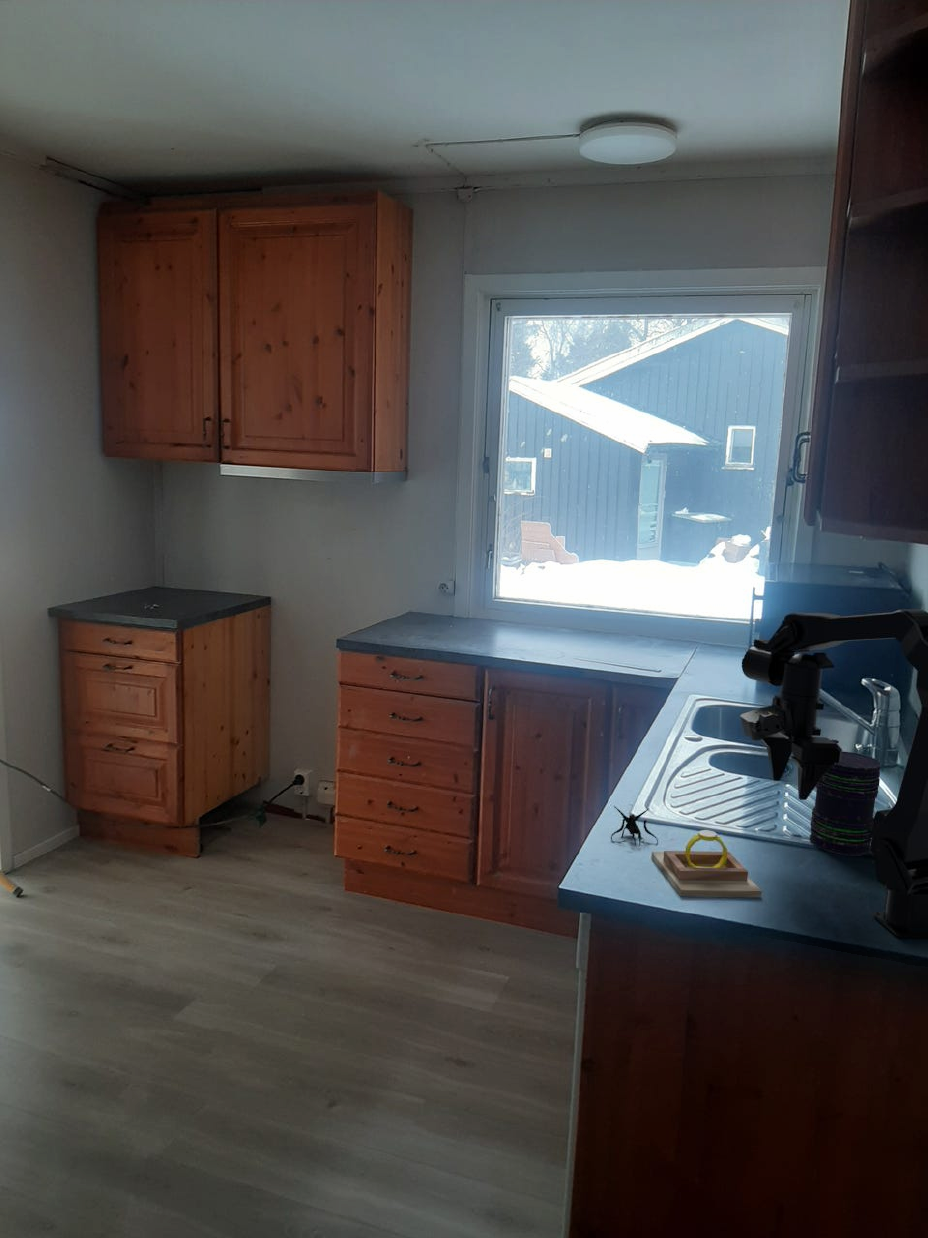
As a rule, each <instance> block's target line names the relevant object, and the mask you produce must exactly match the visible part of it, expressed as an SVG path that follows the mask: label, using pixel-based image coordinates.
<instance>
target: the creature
mask: <svg viewBox="0 0 928 1238" xmlns="http://www.w3.org/2000/svg"><path fill="white" fill-rule="evenodd" d="M613 808H614V809H615V810H616V811H618V812H619V814H620V815H621V817H622V818H623V819H622V823H621V826H620V828H619V829H617V830H616V831H614V832H613V833H612V834H611V836H610V841H611V842H612V843H613V844H615V842H614V841H613V838H612V837H614V835H615V834H617V833H620V832H621V831H622V833H621V838H622V841H619V842H618V844H620V843H622V842H626V839H623V838H624V833H625V830H626V829H627V831H629V832H628V833H629V834H630V835H631V836H632V837H631V839H633V840H634V846H635V847H636V844H637V841H636V837H635V835H637V839H638V841H639V842H638V843H639V844H638V845H639V847H641V843H645V844H648V845H650V843H649V842H646V841H645V839H643V840H642V834H641V833H642V832H641V830H640V828H639V827H638V824H637V821H638V820H639V818H640V817H642V815H644V814H645V813H646V812H648V810H650V807H649V808H647V809H645V811H643V812H641V813H639V814H638V815H636V816H635V814H631V815H630V816H629V817H628V816H627V815H625V814H624V813H623V812H622V810H619V808H617V807H616V806H615V805H613ZM625 822H626V824H625ZM647 822H648V821H647V820H646V819H645V820H643V829H644V832H646V833H647V834H648V835H650V836H652V837H654V838H655V839H656V841H657V842H656V844H655V846H657V845H658V844H659V839H658V837H656V835H654V834H653V833H652V832H650V830H648V828H647ZM641 840H642V841H641Z"/></svg>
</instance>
